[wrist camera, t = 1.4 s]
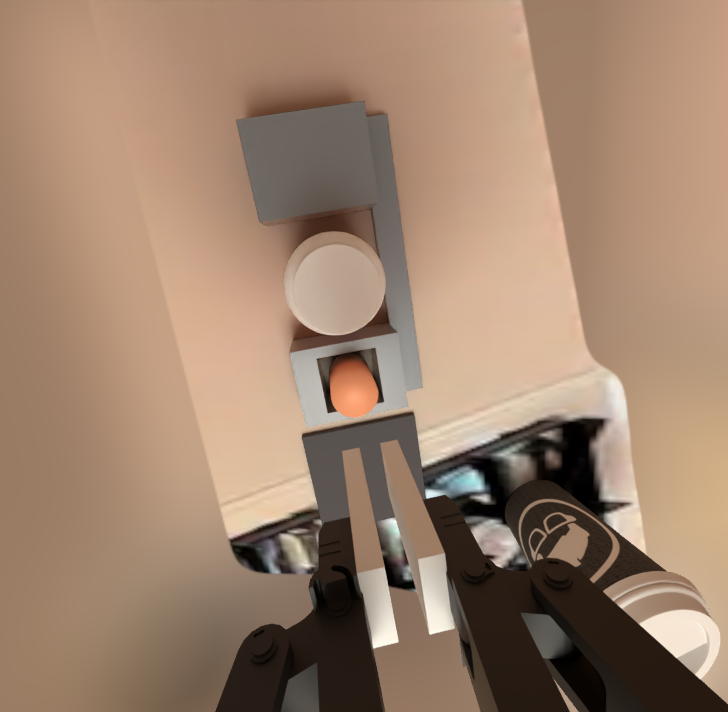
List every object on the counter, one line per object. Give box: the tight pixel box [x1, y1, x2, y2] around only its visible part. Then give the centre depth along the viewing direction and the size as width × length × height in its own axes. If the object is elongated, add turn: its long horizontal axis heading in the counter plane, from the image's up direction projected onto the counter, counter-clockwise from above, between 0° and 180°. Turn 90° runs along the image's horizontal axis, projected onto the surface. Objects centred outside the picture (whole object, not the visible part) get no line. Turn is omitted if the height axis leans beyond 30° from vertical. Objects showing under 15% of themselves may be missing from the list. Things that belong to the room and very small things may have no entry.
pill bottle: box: [283, 231, 386, 335], centre depth 25 cm, size 6×6×11 cm
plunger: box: [329, 354, 378, 417], centre depth 28 cm, size 3×3×5 cm
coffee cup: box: [505, 480, 720, 679], centre depth 32 cm, size 10×10×15 cm
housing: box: [236, 101, 423, 428], centre depth 29 cm, size 21×10×4 cm, turn 9°
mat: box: [302, 413, 426, 525], centre depth 35 cm, size 10×10×1 cm
